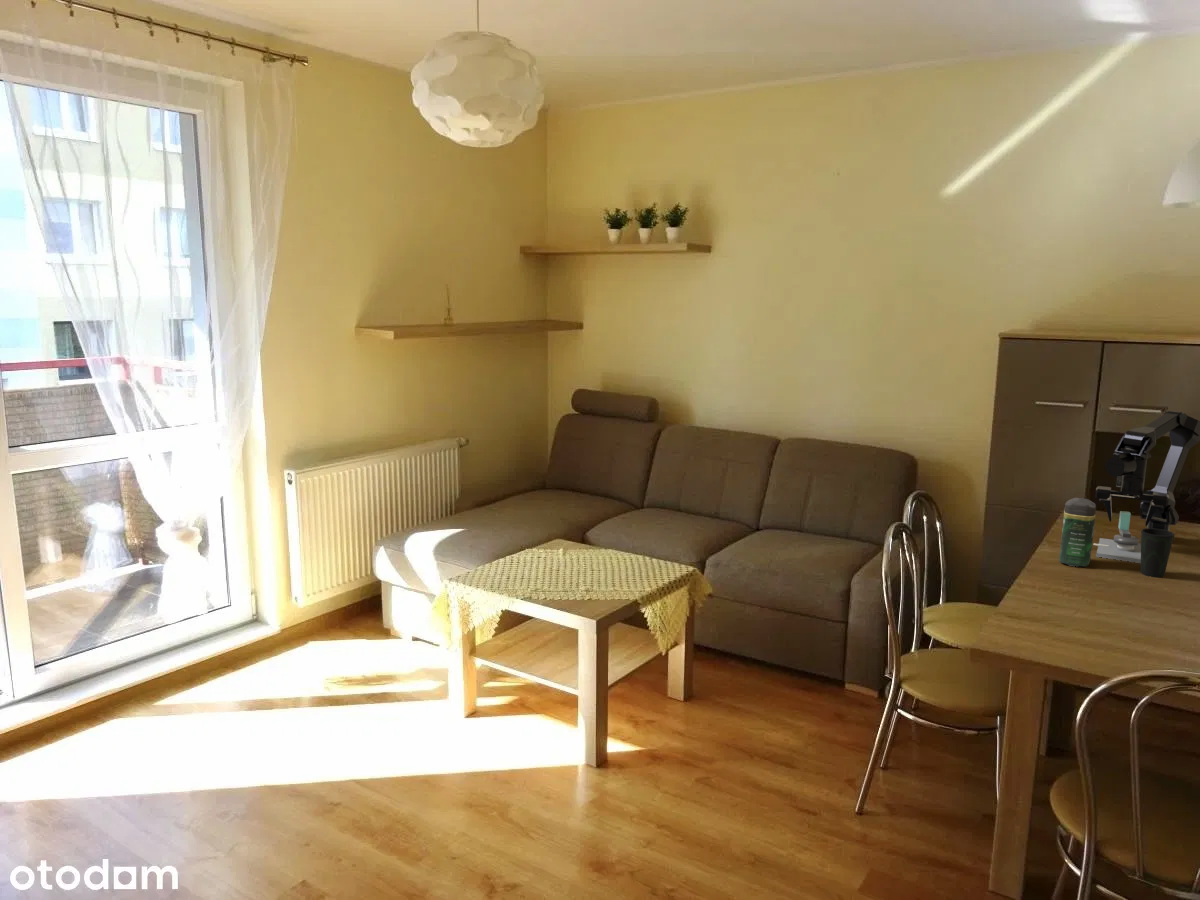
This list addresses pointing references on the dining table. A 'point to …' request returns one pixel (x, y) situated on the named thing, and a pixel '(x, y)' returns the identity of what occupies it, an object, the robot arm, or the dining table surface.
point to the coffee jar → (1077, 532)
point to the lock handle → (1125, 531)
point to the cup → (1155, 551)
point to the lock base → (1118, 551)
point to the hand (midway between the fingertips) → (1128, 523)
